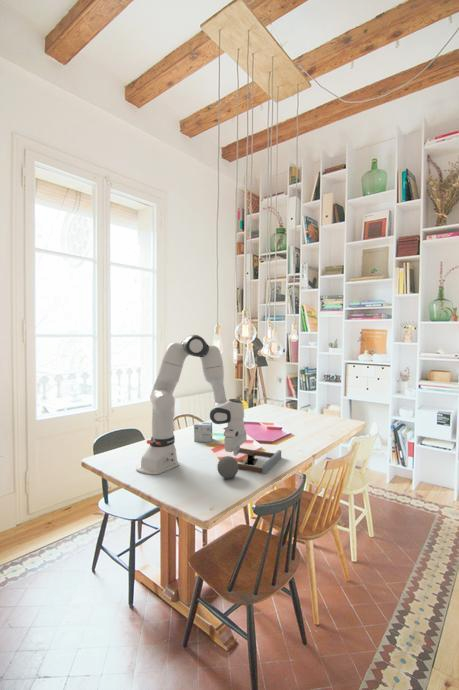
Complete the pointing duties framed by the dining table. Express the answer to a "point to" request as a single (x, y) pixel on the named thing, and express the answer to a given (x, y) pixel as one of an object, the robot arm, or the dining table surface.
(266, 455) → the frame
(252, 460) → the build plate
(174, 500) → the dining table surface
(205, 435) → the light bulb box
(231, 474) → the decorative ball
